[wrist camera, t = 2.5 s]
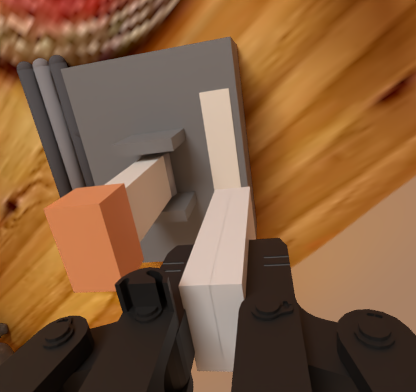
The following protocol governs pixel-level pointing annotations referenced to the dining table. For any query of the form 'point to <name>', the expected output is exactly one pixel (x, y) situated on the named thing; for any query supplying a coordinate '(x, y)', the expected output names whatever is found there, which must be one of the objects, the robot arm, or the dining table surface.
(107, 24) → the dining table surface
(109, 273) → the toggle lever
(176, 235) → the switch block
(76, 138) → the cable bundle
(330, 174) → the dining table surface
